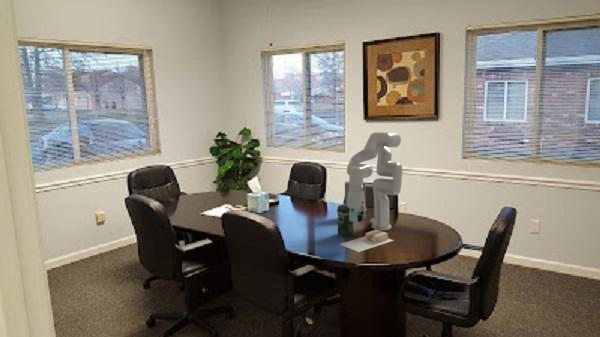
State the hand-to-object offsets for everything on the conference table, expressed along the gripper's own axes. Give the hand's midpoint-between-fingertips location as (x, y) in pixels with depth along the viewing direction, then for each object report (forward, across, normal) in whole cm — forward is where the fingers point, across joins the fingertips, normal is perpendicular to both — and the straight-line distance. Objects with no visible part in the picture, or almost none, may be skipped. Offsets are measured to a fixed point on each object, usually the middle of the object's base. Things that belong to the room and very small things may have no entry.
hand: (356, 219), depth 253 cm
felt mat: (+15, 0, +8) cm, 17 cm away
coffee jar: (+16, -18, +8) cm, 25 cm away
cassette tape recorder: (+16, -40, +37) cm, 57 cm away
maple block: (+15, 0, +15) cm, 22 cm away
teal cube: (+1, 0, 0) cm, 1 cm away
